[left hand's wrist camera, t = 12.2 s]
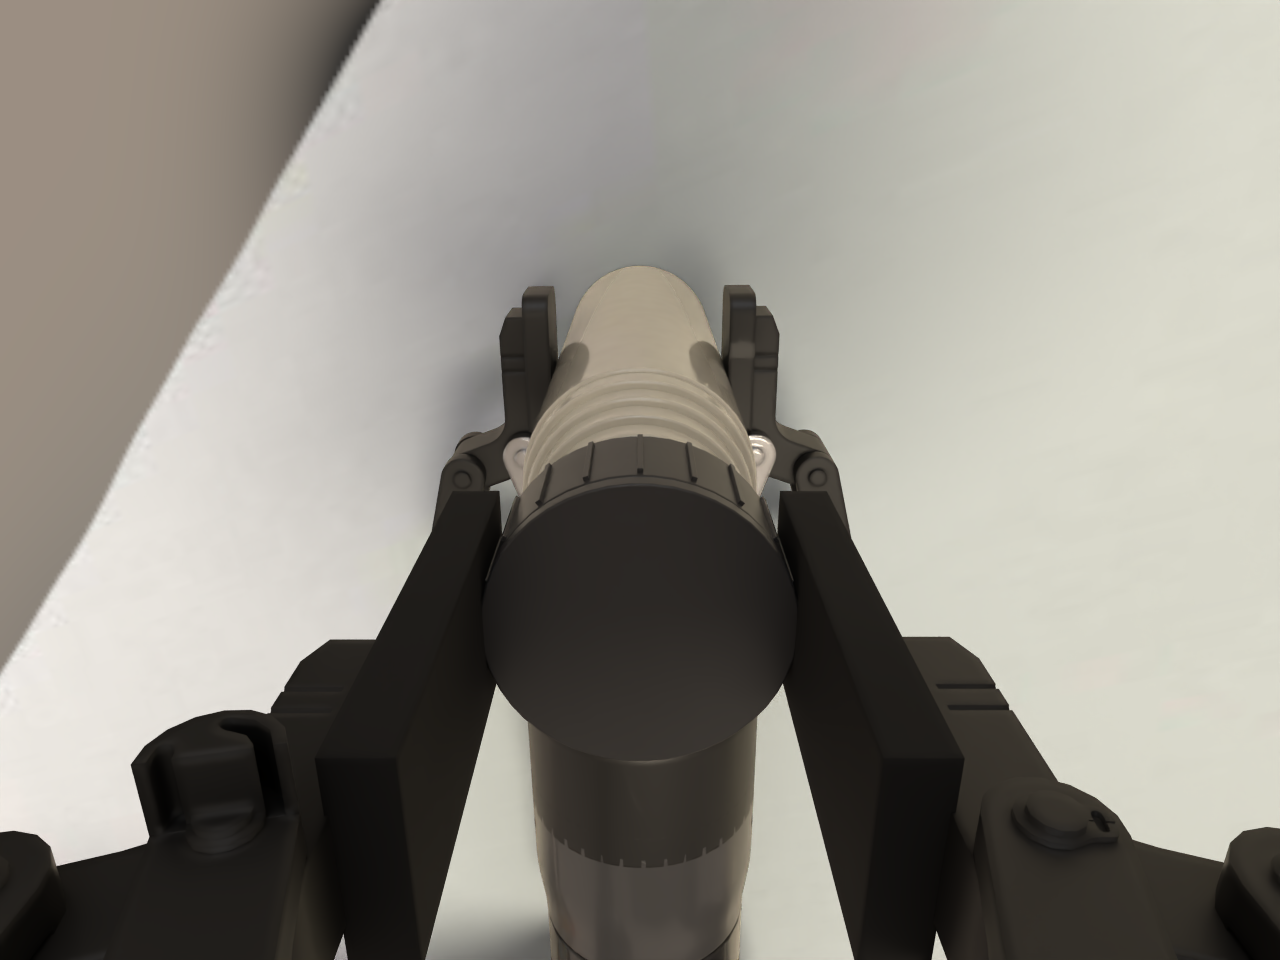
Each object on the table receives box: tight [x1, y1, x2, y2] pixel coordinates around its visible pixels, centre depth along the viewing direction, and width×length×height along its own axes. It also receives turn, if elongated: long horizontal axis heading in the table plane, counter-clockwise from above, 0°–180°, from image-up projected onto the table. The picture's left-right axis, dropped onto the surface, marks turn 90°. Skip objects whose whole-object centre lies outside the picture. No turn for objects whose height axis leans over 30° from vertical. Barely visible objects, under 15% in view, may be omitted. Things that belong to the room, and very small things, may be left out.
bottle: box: [523, 266, 757, 493], centre depth 22 cm, size 5×5×20 cm
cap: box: [481, 434, 798, 761], centre depth 14 cm, size 5×5×2 cm
